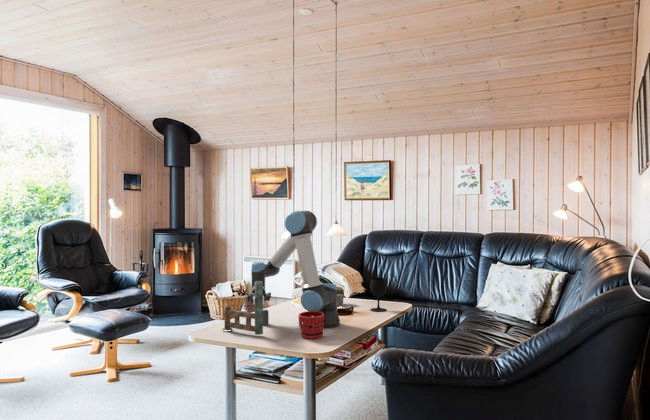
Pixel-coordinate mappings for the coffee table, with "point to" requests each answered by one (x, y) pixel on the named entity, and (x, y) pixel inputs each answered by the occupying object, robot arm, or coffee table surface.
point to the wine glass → (378, 291)
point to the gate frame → (265, 319)
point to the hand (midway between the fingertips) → (258, 301)
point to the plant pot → (311, 324)
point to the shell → (340, 290)
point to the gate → (248, 314)
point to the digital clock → (340, 300)
